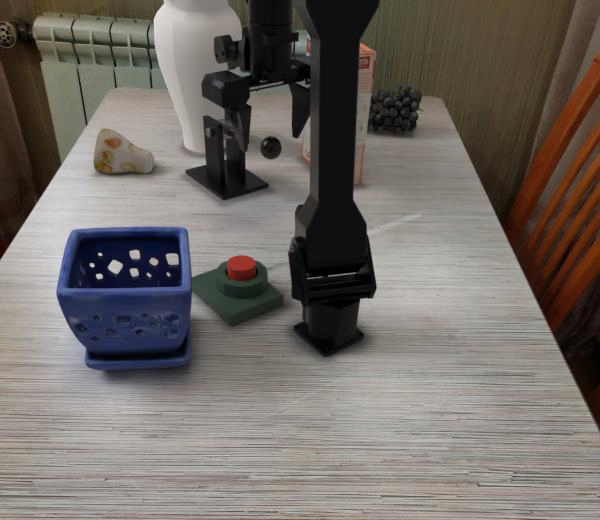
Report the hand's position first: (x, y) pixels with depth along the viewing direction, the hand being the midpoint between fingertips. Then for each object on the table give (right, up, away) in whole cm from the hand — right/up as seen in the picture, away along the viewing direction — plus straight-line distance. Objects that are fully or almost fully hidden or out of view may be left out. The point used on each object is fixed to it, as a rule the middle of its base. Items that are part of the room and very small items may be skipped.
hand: (270, 144), depth 88 cm
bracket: (-8, 0, +15) cm, 17 cm away
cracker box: (+10, +3, +20) cm, 22 cm away
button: (-3, -21, -11) cm, 24 cm away
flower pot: (-14, -31, -17) cm, 38 cm away
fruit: (+21, +18, +35) cm, 45 cm away
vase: (-13, +10, +25) cm, 30 cm away
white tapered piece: (-26, +2, +17) cm, 31 cm away
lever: (-4, +2, +5) cm, 7 cm away
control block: (-4, -24, -9) cm, 26 cm away
